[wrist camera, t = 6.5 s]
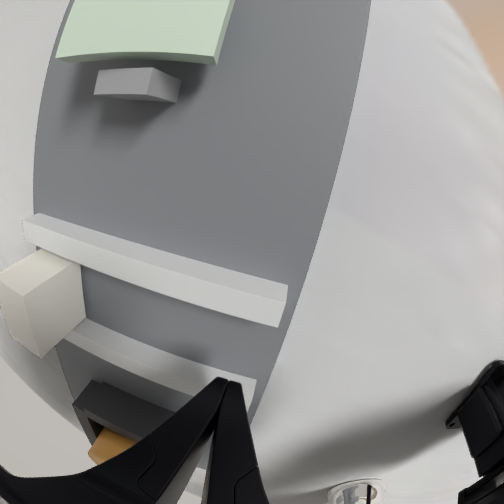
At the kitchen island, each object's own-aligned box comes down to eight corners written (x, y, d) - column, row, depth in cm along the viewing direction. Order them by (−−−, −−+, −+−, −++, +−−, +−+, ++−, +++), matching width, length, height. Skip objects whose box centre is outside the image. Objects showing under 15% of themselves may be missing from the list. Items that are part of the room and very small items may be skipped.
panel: (363, 6, 7) (388, -52, 3) (232, 455, 18) (219, 500, 14) (97, 1, 8) (41, -23, 4) (91, 400, 19) (66, 434, 15)
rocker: (239, -14, 6) (239, -29, 5) (216, 65, 7) (213, 56, 6) (96, -10, 5) (83, -21, 4) (70, 63, 6) (54, 58, 5)
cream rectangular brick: (80, 258, 11) (23, 296, 7) (86, 316, 12) (41, 359, 9) (46, 245, 11) (-8, 275, 8) (54, 300, 12) (10, 336, 9)
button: (163, 444, 13) (148, 476, 11) (165, 468, 14) (154, 494, 12) (98, 415, 13) (80, 441, 11) (110, 444, 15) (96, 467, 13)
